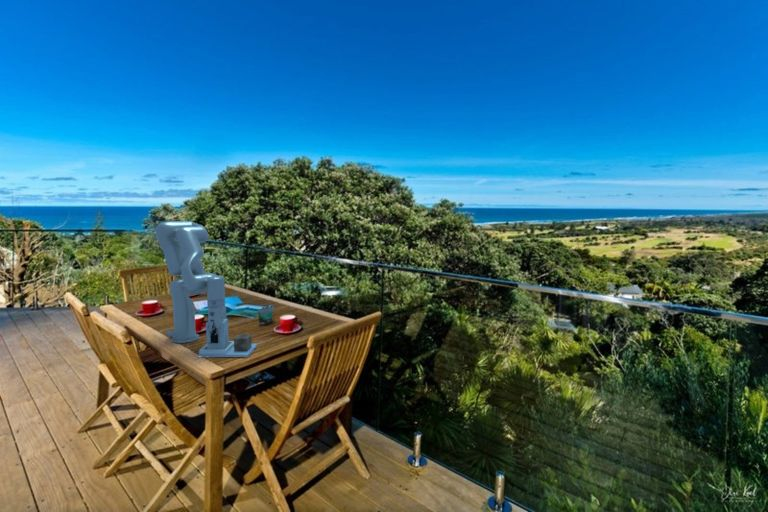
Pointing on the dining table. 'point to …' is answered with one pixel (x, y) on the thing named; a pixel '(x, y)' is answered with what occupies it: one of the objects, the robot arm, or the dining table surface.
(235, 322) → the dining table surface
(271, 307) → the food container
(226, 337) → the small box
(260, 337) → the dining table surface
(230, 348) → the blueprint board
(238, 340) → the dark gray block
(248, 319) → the dining table surface
